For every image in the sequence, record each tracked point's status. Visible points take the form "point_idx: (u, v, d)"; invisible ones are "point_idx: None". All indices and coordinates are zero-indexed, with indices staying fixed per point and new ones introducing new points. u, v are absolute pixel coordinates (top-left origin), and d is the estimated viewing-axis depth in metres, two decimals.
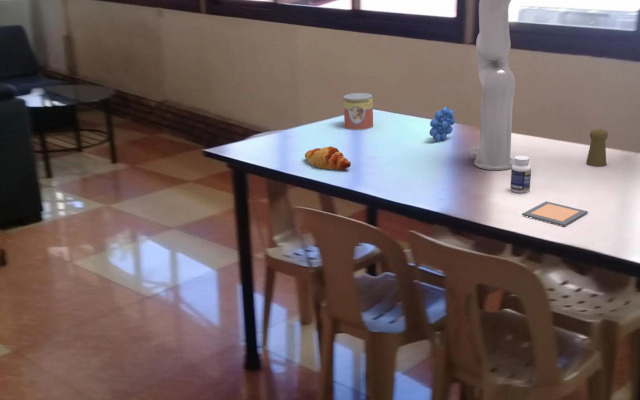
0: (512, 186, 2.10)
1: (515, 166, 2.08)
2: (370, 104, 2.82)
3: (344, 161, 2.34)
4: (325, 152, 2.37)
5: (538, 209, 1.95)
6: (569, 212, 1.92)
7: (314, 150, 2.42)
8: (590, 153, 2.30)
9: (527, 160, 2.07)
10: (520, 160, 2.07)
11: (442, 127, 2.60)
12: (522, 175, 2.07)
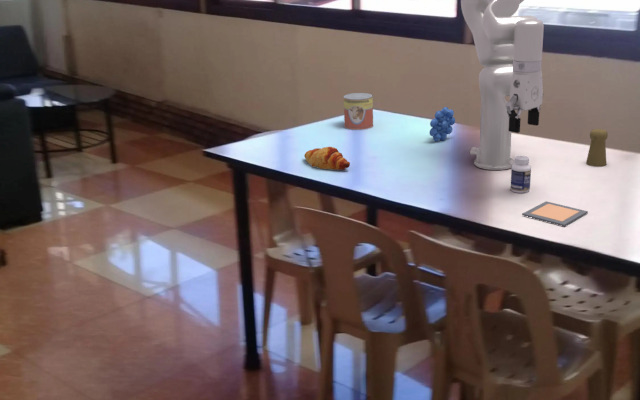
0: (512, 186, 2.10)
1: (515, 166, 2.08)
2: (370, 104, 2.82)
3: (343, 161, 2.34)
4: (324, 152, 2.37)
5: (538, 209, 1.95)
6: (569, 212, 1.92)
7: (313, 150, 2.42)
8: (590, 153, 2.30)
9: (527, 160, 2.07)
10: (520, 160, 2.07)
11: (442, 127, 2.60)
12: (522, 175, 2.07)
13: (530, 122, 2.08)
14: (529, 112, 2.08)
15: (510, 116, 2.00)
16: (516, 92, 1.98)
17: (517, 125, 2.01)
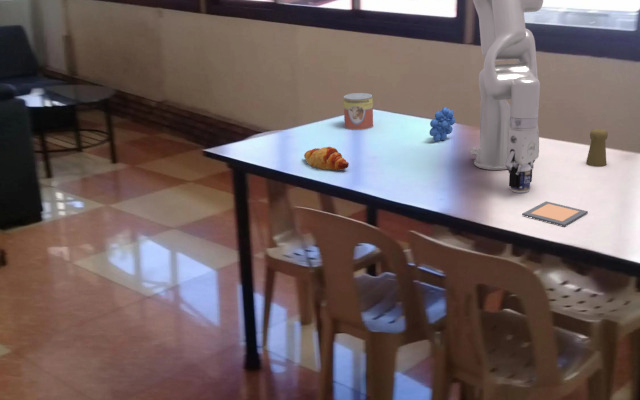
0: None
1: (515, 166, 2.08)
2: (370, 104, 2.82)
3: (342, 161, 2.34)
4: (323, 152, 2.37)
5: (538, 209, 1.95)
6: (569, 212, 1.92)
7: (313, 150, 2.42)
8: (590, 153, 2.30)
9: None
10: None
11: (442, 127, 2.60)
12: (522, 175, 2.07)
13: None
14: None
15: (510, 172, 2.07)
16: (513, 147, 2.04)
17: (517, 181, 2.07)
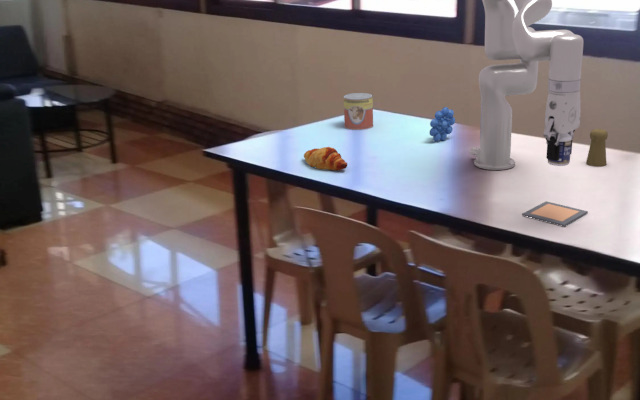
0: None
1: (554, 136, 1.85)
2: (370, 104, 2.82)
3: (340, 162, 2.34)
4: (322, 152, 2.36)
5: (538, 209, 1.95)
6: (569, 212, 1.92)
7: (312, 150, 2.42)
8: (590, 153, 2.30)
9: None
10: None
11: (442, 127, 2.60)
12: (562, 145, 1.84)
13: None
14: None
15: (549, 143, 1.83)
16: (552, 114, 1.80)
17: (556, 152, 1.84)
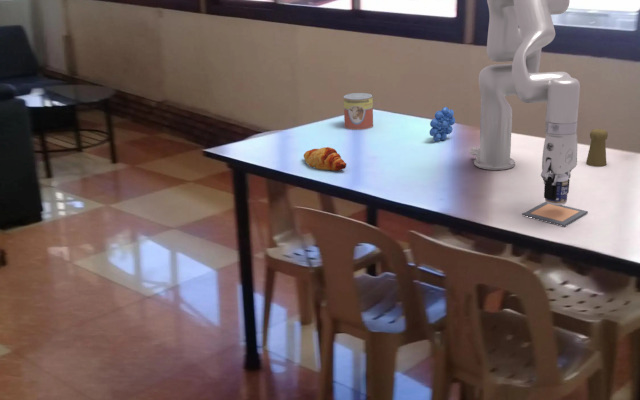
0: None
1: (551, 176, 1.88)
2: (370, 104, 2.82)
3: (339, 162, 2.33)
4: (321, 153, 2.36)
5: (538, 209, 1.95)
6: (569, 212, 1.92)
7: (311, 150, 2.42)
8: (590, 153, 2.30)
9: None
10: None
11: (442, 127, 2.60)
12: (559, 185, 1.87)
13: None
14: None
15: (546, 183, 1.87)
16: (549, 155, 1.84)
17: (553, 192, 1.88)
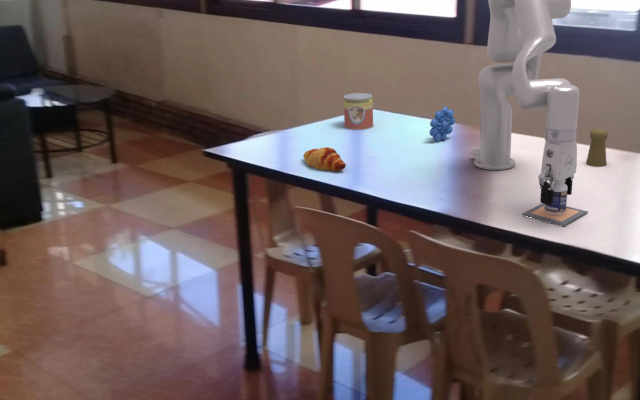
0: (546, 207, 1.92)
1: None
2: (370, 104, 2.82)
3: (339, 162, 2.33)
4: (320, 153, 2.36)
5: (538, 209, 1.95)
6: (569, 212, 1.92)
7: (311, 151, 2.42)
8: (590, 153, 2.30)
9: None
10: None
11: (442, 127, 2.60)
12: (558, 195, 1.89)
13: None
14: None
15: (542, 187, 1.86)
16: (549, 162, 1.84)
17: (550, 197, 1.87)
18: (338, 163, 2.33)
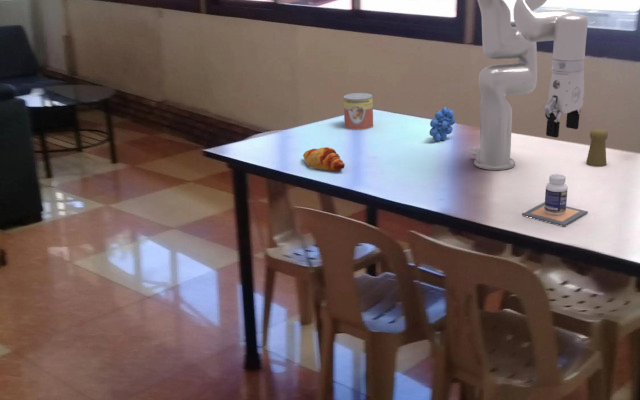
0: (546, 207, 1.92)
1: (550, 186, 1.90)
2: (370, 104, 2.82)
3: (338, 162, 2.33)
4: (320, 153, 2.36)
5: (538, 209, 1.95)
6: (569, 212, 1.92)
7: (311, 150, 2.42)
8: (590, 153, 2.30)
9: (563, 179, 1.88)
10: (556, 179, 1.88)
11: (442, 127, 2.60)
12: (558, 195, 1.89)
13: (569, 125, 1.92)
14: (568, 114, 1.92)
15: (548, 119, 1.84)
16: (556, 93, 1.82)
17: (556, 129, 1.85)
18: (337, 163, 2.33)
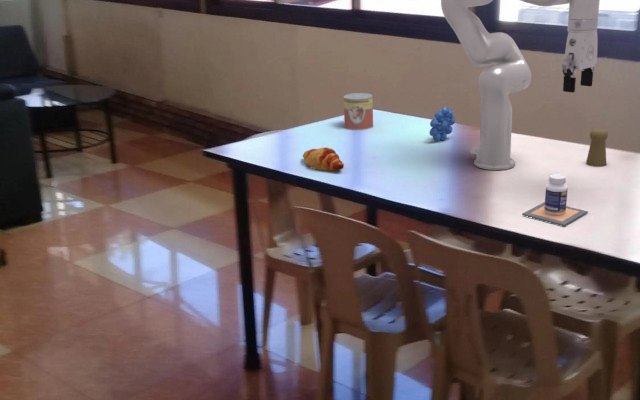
0: (546, 207, 1.92)
1: (550, 186, 1.90)
2: (370, 104, 2.82)
3: (337, 163, 2.33)
4: (319, 153, 2.36)
5: (538, 209, 1.95)
6: (569, 212, 1.92)
7: (310, 150, 2.42)
8: (590, 153, 2.30)
9: (564, 179, 1.88)
10: (556, 179, 1.88)
11: (442, 127, 2.60)
12: (558, 195, 1.89)
13: (583, 83, 2.07)
14: (582, 73, 2.06)
15: (565, 75, 1.98)
16: (572, 51, 1.97)
17: (572, 84, 1.99)
18: (336, 163, 2.33)
